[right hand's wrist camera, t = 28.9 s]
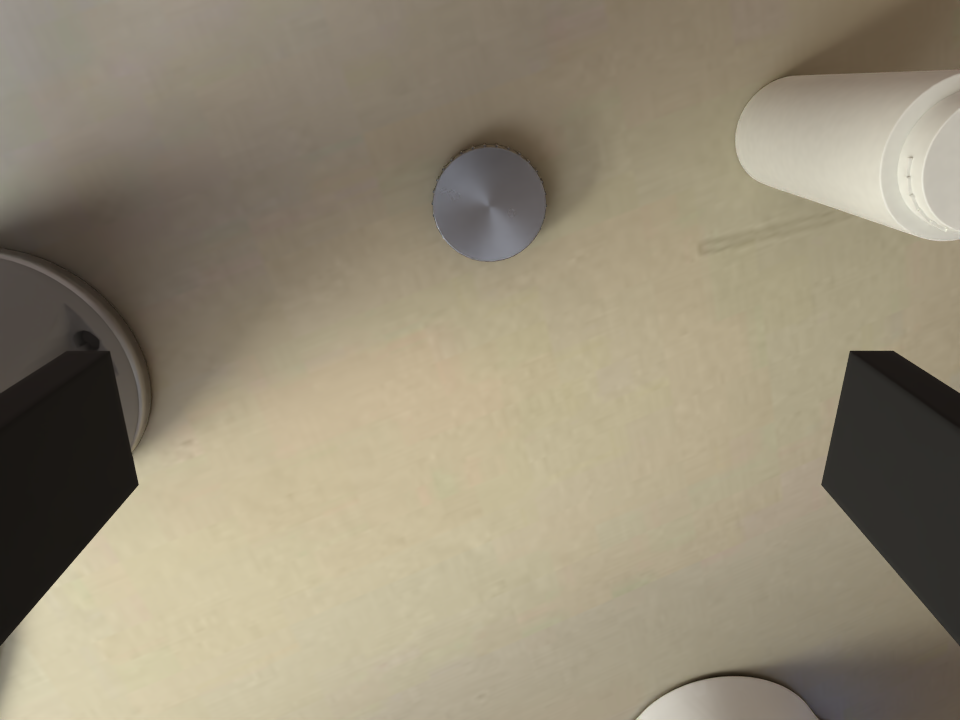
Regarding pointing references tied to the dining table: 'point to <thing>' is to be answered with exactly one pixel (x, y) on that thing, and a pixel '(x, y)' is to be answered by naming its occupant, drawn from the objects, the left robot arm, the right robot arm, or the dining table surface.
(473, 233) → the lid
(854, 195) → the jar
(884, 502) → the right robot arm
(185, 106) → the dining table surface
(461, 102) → the dining table surface
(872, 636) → the dining table surface
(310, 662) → the dining table surface
